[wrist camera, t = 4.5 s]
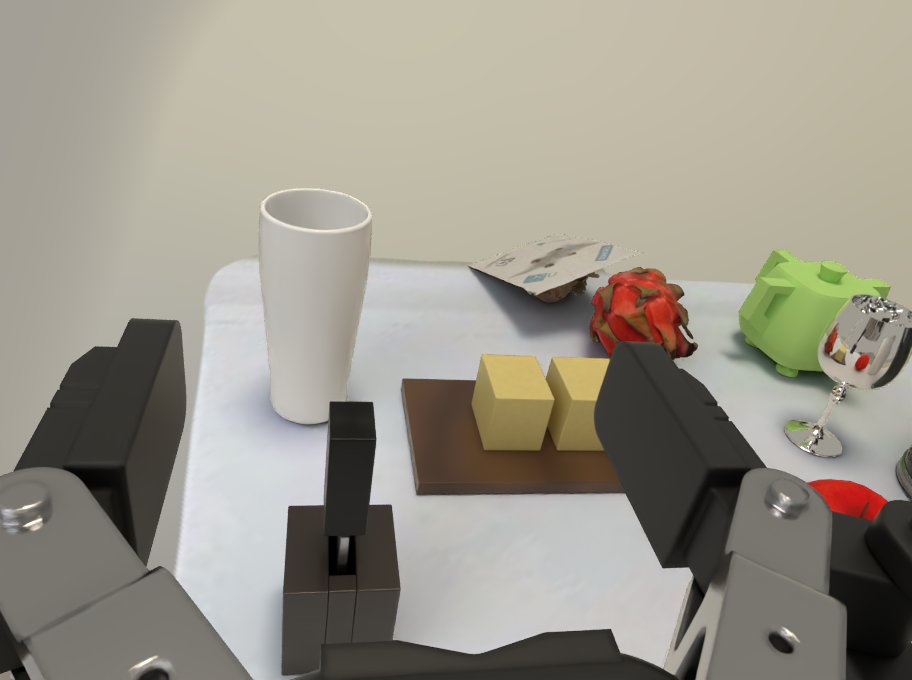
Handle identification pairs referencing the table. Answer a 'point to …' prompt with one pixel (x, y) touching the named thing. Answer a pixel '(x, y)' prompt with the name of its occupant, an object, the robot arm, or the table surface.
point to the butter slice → (511, 402)
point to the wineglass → (856, 361)
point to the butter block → (575, 401)
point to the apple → (850, 498)
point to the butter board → (487, 471)
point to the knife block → (336, 587)
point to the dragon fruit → (641, 312)
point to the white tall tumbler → (312, 295)
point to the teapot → (798, 307)
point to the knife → (348, 474)
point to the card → (553, 265)
